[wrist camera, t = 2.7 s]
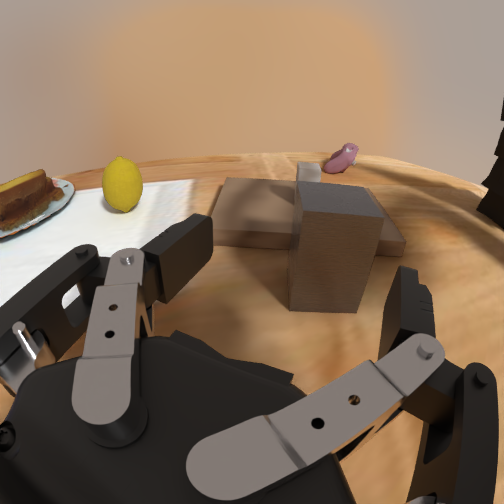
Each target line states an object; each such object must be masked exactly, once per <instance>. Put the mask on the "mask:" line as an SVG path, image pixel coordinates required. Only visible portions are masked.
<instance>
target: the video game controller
mask: <svg viewBox="0 0 504 504" xmlns="http://www.w3.org/2000/svg"><path fill="white" fill-rule="evenodd" d="M357 151H358V147H357V146H356V145H354V144H352V143H347V144H345V145H344V146H343V148H342V149H341V150H339V151H337V152H335V153H334V154H333V155H332V156H331V158H330V160H331V161H329V162H327V163H326V164H325V166H324V171H325V172H326V173H338V172H340V171H341V172H342V173H343V172H344V171H345V170H346V169H347V168H348V167H349V166H350V165H352V164H353V165H352V166H354V165H355V164H356V161H355V157H356V153H357ZM354 161H355V162H354Z"/></svg>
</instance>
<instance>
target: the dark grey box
mask: <svg viewBox="0 0 504 504" xmlns="http://www.w3.org/2000/svg"><path fill="white" fill-rule="evenodd" d="M384 219H385V217H384V216H383V214H382V213H381V211H380V210H379V208H378V207H377V205H376V204H375V203H374V201H373V200H372V198H371V197H370V195H369V194H368V193H367V191H366V190H365V188H364V187H359V186H350V185H340V184H330V183H320V182H308V181H297V184H296V194H295V204H294V213H293V223H292V232H291V240H290V249H289V257H288V266H287V277H288V296H289V311H301V312H329V313H357V310H358V307H359V304H360V301H361V298H362V295H363V292H364V289H365V286H366V283H367V280H368V276H369V273H370V270H371V267H372V263H373V260H374V256H375V253H376V249H377V246H378V242H379V239H380V235H381V231H382V227H383V223H384Z"/></svg>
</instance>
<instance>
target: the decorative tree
mask: <svg viewBox="0 0 504 504" xmlns="http://www.w3.org/2000/svg"><path fill="white" fill-rule="evenodd" d="M501 121H504V100H503V108H502V114H501ZM494 155H496V156H498V159H497V160H496V162H495V164H494V166H493V168H492V170H491V172H490V174H489V176H488V177H487V178H486V179H485V180H484V181H483V182H482V183H481V184H482V185H484V186H485V187H487V188H488V192H487V194H486V195H485V196H484V198H483V199H482V200H481V202H480V204H479V206H478V207H477V209H476V210H477V211H479V212H481V213H483V214H484V215H486V216H488V217H489V218H490V219H492V220H493V221H494V222H496V223H497V224H498V225H500V226H501V227H502V228H503V229H504V128H503V130H502V132H501V135H500V138H499V141H498V145H497V147H496V150H495V153H494Z"/></svg>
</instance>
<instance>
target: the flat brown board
mask: <svg viewBox="0 0 504 504" xmlns="http://www.w3.org/2000/svg"><path fill="white" fill-rule="evenodd" d="M320 178H321V168H320V166H319V164H317V163H306V162H298V165H297V176H296V181H285V180H269V179H251V178H228V177H227V178H226V180H225V183H224V185H223V188H222V190H221V193H220V195H219V198H218V200H217V203H216V205H215V208H214V210H213V213H212V215H211V218H212V220H213V245H221V246H238V247H255V248H271V249H288V250H289V249H290V240H291V232H292V223H293V213H294V204H295V194H296V184H297V181H308V182H320ZM365 190H366V191H367V193H368V194H369V195H370V197H371V198H372V200H373V201H374V203H375V204H376V205H377V207H378V208H379V210H380V211H381V213H382V214H383V216H384V217H385V219H384V223H383V227H382V231H381V235H380V239H379V242H378V246H377V249H376V253H375V255H382V256H398V257H402V254H403V251H404V248H405V244H406V241H405V239H404V238H403V236H402V235H401V233H400V232H399V230H398V229H397V227H396V226H395V224H394V223H393V221H392V220H391V218H390V217H389V216H388V214H387V213H386V211H385V210H384V209H383V207H382V206H381V204H380V203H379V202H378V200H377V199H376V197H375V196H374V195H373V193H372V192H371V191H370V189H369V188H365Z"/></svg>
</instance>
